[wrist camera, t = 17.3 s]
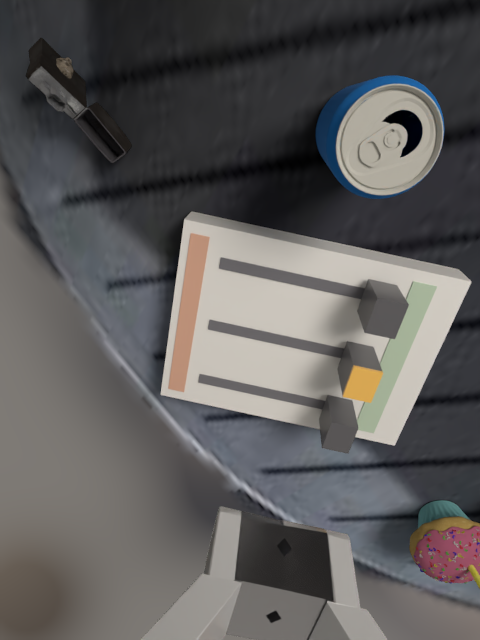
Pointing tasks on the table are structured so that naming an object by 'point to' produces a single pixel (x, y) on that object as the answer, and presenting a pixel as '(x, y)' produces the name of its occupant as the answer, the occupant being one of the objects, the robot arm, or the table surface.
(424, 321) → the white slider switch panel
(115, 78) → the table surface
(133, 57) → the table surface
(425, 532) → the cupcake
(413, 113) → the beverage can
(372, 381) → the block
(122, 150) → the lighter
